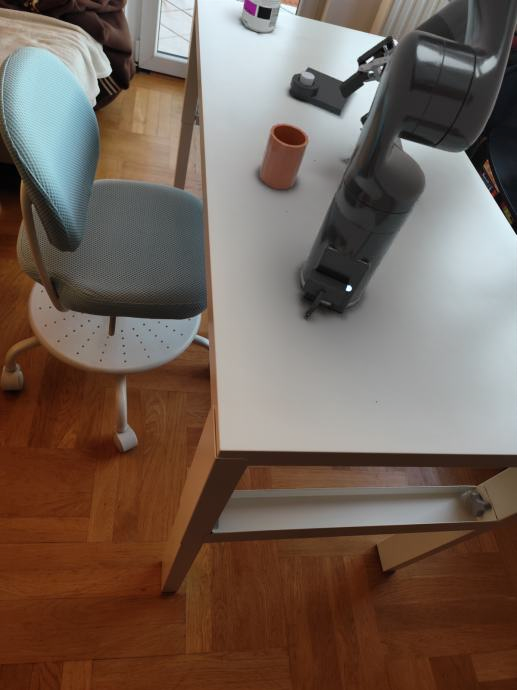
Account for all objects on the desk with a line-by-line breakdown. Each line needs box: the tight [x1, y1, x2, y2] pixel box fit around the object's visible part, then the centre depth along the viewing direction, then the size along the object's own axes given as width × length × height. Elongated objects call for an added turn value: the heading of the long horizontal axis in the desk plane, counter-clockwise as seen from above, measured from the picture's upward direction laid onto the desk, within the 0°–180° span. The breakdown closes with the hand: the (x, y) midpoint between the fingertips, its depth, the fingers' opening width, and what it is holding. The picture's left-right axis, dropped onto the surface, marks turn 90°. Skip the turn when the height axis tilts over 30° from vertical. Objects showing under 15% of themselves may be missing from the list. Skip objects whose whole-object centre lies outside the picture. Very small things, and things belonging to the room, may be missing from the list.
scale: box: [289, 66, 351, 117], centre depth 102 cm, size 13×12×3 cm
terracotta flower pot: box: [258, 123, 310, 190], centre depth 80 cm, size 6×6×8 cm
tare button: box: [299, 71, 315, 86], centre depth 98 cm, size 3×3×2 cm
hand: (351, 108), depth 76 cm, fingers open, 8 cm apart
